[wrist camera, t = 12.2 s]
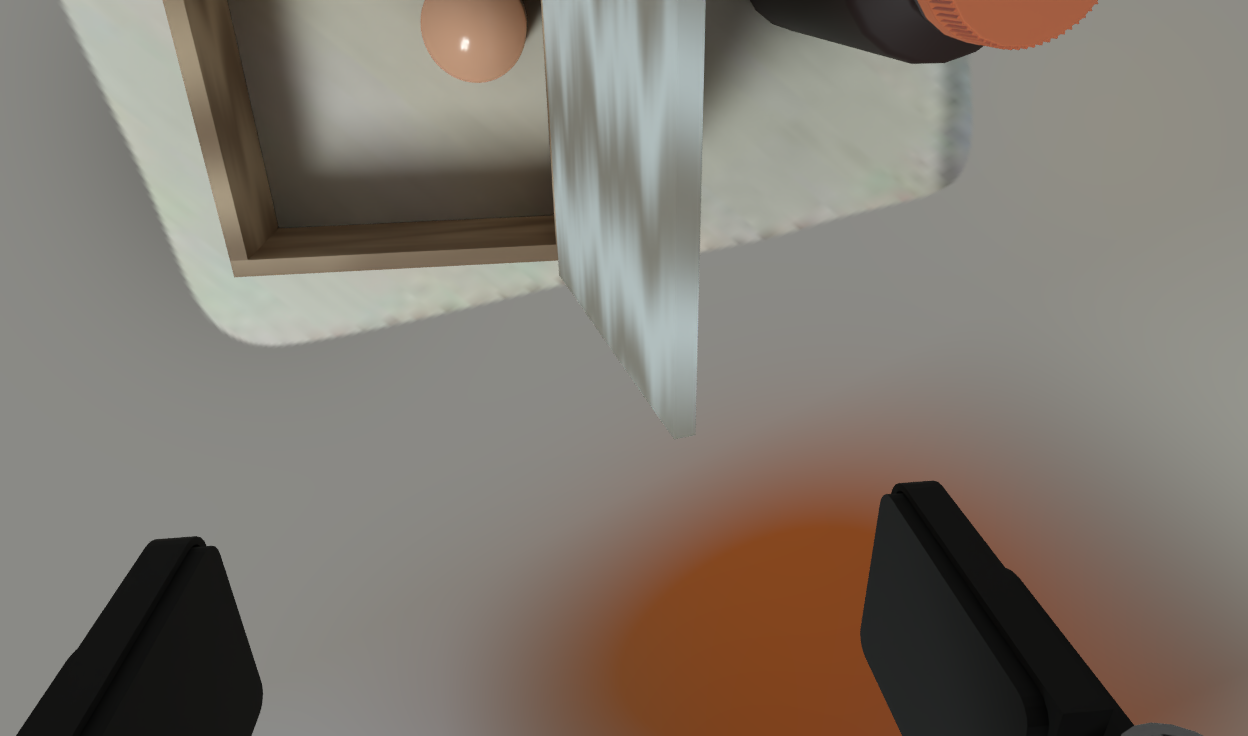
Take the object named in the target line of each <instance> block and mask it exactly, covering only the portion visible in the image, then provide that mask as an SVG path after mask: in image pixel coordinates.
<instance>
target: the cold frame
mask: <svg viewBox="0 0 1248 736" xmlns="http://www.w3.org/2000/svg"><path fill="white" fill-rule="evenodd" d="M163 3H164V7H165V11H166V15H167V19H168V23H169V26H170V30H171V34H172V38H173V42H174V46H175V50H176V54H177V57H178V61H179V65H180V69H181V73H182V77H183V81H184V84H185V88H186V92H187V96H188V100H189V104H190V108H191V111H192V115H193V119H194V123H195V127H196V131H197V135H198V138H199V142H200V146H201V150H202V154H203V158H204V162H205V165H206V169H207V173H208V177H209V181H210V185H211V189H212V193H213V196H214V200H215V204H216V208H217V212H218V216H219V220H220V223H221V227H222V231H223V235H224V239H225V243H226V247H227V250H228V254H229V258H230V262H231V266H232V270H233V274H234V277H247V276H266V275H285V274H305V273H324V272H343V271H362V270H382V269H401V268H420V267H440V266H459V265H478V264H498V263H517V262H536V261H555V260H558V263H559V276H560V277H561V279H562V280H563V281H564V283H565V284H566V286H567V287H568V288H569V290H570V291H571V293H572V294H573V296H574V297H575V298H576V300H577V301H578V303H579V304H580V306H581V307H582V309H583V310H584V311H585V313H586V314H587V316H588V317H589V319H590V320H591V321H592V323H593V324H594V326H595V327H596V329H597V330H598V331H599V333H600V334H601V336H602V337H603V339H604V340H605V341H606V343H607V344H608V346H609V347H610V349H611V350H612V351H613V353H614V354H615V355H616V357H617V359H618V360H619V361H620V363H621V364H622V366H623V367H624V368H625V370H626V371H627V373H628V374H629V376H630V377H631V379H632V380H633V381H634V383H635V384H636V386H637V387H638V389H639V390H640V391H641V393H642V394H643V395H644V397H645V398H646V400H647V402H648V403H649V404H650V406H651V407H652V409H653V410H654V412H655V413H656V414H657V416H658V417H659V419H660V420H661V422H662V423H663V424H664V426H665V427H666V429H667V430H668V431H669V433H670V434H671V436H672V437H673V439H678V438H683V437H688V436H693V435H695V428H696V386H697V341H698V302H699V299H698V298H699V259H700V217H701V175H702V133H703V91H704V49H705V7H706V0H541V11H542V27H543V44H544V60H545V76H546V92H547V108H548V124H549V140H550V156H551V172H552V188H553V205H554V215H548V216H527V217H506V218H485V219H464V220H443V221H422V222H401V223H380V224H359V225H338V226H317V227H296V228H278V223H277V219H276V214H275V210H274V205H273V201H272V197H271V192H270V188H269V183H268V179H267V174H266V170H265V166H264V161H263V157H262V152H261V148H260V143H259V139H258V134H257V130H256V126H255V121H254V117H253V112H252V108H251V103H250V99H249V95H248V90H247V86H246V81H245V77H244V72H243V68H242V64H241V59H240V55H239V50H238V46H237V41H236V37H235V32H234V28H233V24H232V19H231V15H230V10H229V6H228V1H227V0H163Z"/></svg>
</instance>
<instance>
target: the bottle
mask: <svg viewBox="0 0 1248 736" xmlns="http://www.w3.org/2000/svg"><path fill="white" fill-rule="evenodd" d="M750 1H751V3H752V4H753V6H754V8H755V9H756V11H758V12H759V13H760V14H761V15H762V16H764V17H765V18H766V19H767V20H768V21H770V22H771V23H772V24H774V25H777V26H780V27H783V28H786V29H789V30H792V31H795V32H799V33H802V34H806V35H809V36H813V37H817V38H820V39H824V40H828V41H831V42H835V43H838V44H842V45H846V46H849V47H853V48H857V49H860V50H864V51H867V52H871V53H875V54H878V55H882V56H885V57H889V58H893V59H896V60H900V61H904V62H907V63H911V64H920V63H946V62H949V61H951V60H954V59H957V58H960V57H962V56H965V55H968V54H971V53H973V52H976V51H977V50H979V49H980V48H981V47H983V46H989V47H994V48H999V49H1008V50H1012V49H1016V50H1019V49H1020V48H1023V49H1027V48H1028V47H1033V48H1034V47H1035V44H1037V45H1042V44H1043V41H1044V42H1050V39H1051V38H1055V39H1057V38H1058V35H1060V34H1065V30H1067V29H1072V25H1074V24H1079V20H1081V19H1082V18H1085V17H1086V16H1085V15H1086V14H1087V12H1088V11H1092V9H1091V8H1092V7H1093V5H1094V4H1098V2H1097V1H1098V0H750Z"/></svg>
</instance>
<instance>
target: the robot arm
mask: <svg viewBox="0 0 1248 736" xmlns="http://www.w3.org/2000/svg"><path fill="white" fill-rule="evenodd" d="M860 636H861V644H862V649H863V652H864V655H865V658H866V660H867V662H868V664H869V666H870V668H871V670H872V672H873V675H874V677H875V679H876V681H877V683H878V685H879V687H880V690H881V691H882V694H883V696H884V698H885V700H886V702H887V704H888V706H889V708H890V711H891V713H892V715H893V717H894V719H895V721H896V724H897V725H898V728H899V730H900V732H901V734H902V736H1203V735H1200V734H1199V733H1197V732H1195V731H1191V730H1188V729H1185V728H1181V727H1178V726H1175V725H1171V724H1160V723H1147V724H1141V725H1136V726H1134V725H1133V723H1132V722H1131V721H1130V719H1129V718H1128V717H1127V716H1126V714H1125V713H1124V712H1123V711H1122V709H1121V708H1120V707H1119V705H1118V704H1117V703H1116V701H1115V700H1114V699H1113V698H1112V696H1111V695H1110V694H1109V693H1108V691H1107V690H1106V689H1105V687H1104V686H1103V685H1102V683H1101V682H1100V681H1099V680H1098V678H1097V677H1096V676H1095V674H1094V673H1093V672H1092V671H1091V669H1090V668H1089V667H1088V666H1087V664H1086V663H1085V662H1084V660H1083V659H1082V658H1081V657H1080V655H1079V654H1078V653H1077V651H1076V650H1075V649H1074V648H1073V646H1072V645H1071V644H1070V642H1069V641H1068V640H1067V639H1066V638H1065V636H1064V635H1063V633H1062V632H1061V631H1060V630H1059V628H1058V627H1057V626H1056V624H1055V623H1054V622H1053V621H1052V619H1051V618H1050V617H1049V615H1048V614H1047V613H1046V612H1045V610H1044V609H1043V608H1042V607H1041V605H1040V604H1039V603H1038V601H1037V600H1036V599H1035V598H1034V596H1033V595H1032V594H1031V593H1030V591H1029V590H1028V589H1027V587H1026V586H1025V585H1024V583H1023V582H1022V581H1021V580H1020V578H1019V577H1017V575H1016V574H1015V573H1013V571H1011V570H1009V569H1007V568H1005V567H1004V566H1003V564H1002V563H1001V562H1000V560H999V559H998V558H997V557H996V555H995V554H994V553H993V551H992V550H991V549H990V547H989V546H988V545H987V543H986V542H985V541H984V540H983V538H982V537H981V536H980V534H979V533H978V532H977V531H976V529H975V528H974V527H973V525H972V524H971V523H970V521H969V520H968V519H967V517H966V516H965V515H964V514H963V513H962V511H961V510H960V508H959V507H958V506H957V504H956V503H955V502H954V501H953V499H952V498H951V497H950V495H949V494H948V493H947V491H946V490H945V489H944V488H943V486H942V485H941V484H940V483H939V482H936V481H923V482H910V483H898V484H896V485H895V486H894V487H893V489H892V493H891V494H886V495H884V496H883V497H882V499H881V502H880V507H879V515H878V520H877V526H876V533H875V539H874V546H873V552H872V559H871V565H870V572H869V578H868V584H867V591H866V597H865V604H864V610H863V617H862V623H861V631H860ZM262 699H263V689H262V683H261V680H260V676H259V673H258V670H257V667H256V664H255V661H254V658H253V655H252V652H251V649H250V645H249V643H248V639H247V636H246V633H245V630H244V627H243V624H242V621H241V617H240V615H239V611H238V609H237V605H236V602H235V599H234V596H233V593H232V590H231V587H230V583H229V580H228V577H227V574H226V571H225V568H224V565H223V562H222V559H221V555H220V553H219V551H218V549H217V548H216V547H215V546H206V544H205V542H204V540H203V539H202V538H201V537H197V536H194V537H181V538H168V539H156V540H153V541H151V542H150V543H149V544H148V545H147V546H146V547H145V549H144V550H143V552H142V553H141V555H140V556H139V558H138V559H137V561H136V562H135V564H134V565H133V567H132V568H131V570H130V571H129V573H128V574H127V576H126V577H125V579H124V580H123V582H122V583H121V585H120V586H119V587H118V589H117V590H116V592H115V593H114V595H113V596H112V598H111V599H110V601H109V603H108V604H107V606H106V607H105V608H104V610H103V611H102V613H101V614H100V616H99V617H98V619H97V620H96V622H95V623H94V625H93V627H92V628H91V629H90V631H89V632H88V634H87V635H86V637H85V638H84V640H83V641H82V643H81V644H80V646H79V648H78V649H77V650H76V651H75V652H74V653H73V654H72V655H71V656H70V657H69V658H68V660H67V661H66V662H65V664H64V666H63V667H62V668H61V670H60V671H59V673H58V674H57V676H56V677H55V679H54V680H53V682H52V683H51V685H50V686H49V688H48V689H47V691H46V692H45V694H44V695H43V697H42V698H41V699H40V701H39V702H38V704H37V706H36V707H35V708H34V710H33V711H32V713H31V715H30V716H29V717H28V719H27V720H26V722H25V723H24V725H23V726H22V728H21V729H20V731H19V732H18V734H17V735H16V736H251V735H252V733H253V730H254V727H255V725H256V722H257V719H258V716H259V713H260V710H261V706H262Z"/></svg>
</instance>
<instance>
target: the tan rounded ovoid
mask: <svg viewBox="0 0 1248 736" xmlns="http://www.w3.org/2000/svg"><path fill="white" fill-rule="evenodd" d="M421 32H422V37H423V40H424V43H425V46H426V48H427V50H428V52H429V54H430V55H431V57H432V58H433V60H434V61H435V62H436V63H437V64H438V65H439V66H440V67H441V68H442V69H443V70H444V71H445V72H447V73H448V74H450V75H451V76H453V77H455V78H457V79H460V80H463V81H467V82H474V83H481V82H488V81H492V80H494V79H497V78H499V77H501V76H502V75H504V74H505V73H507V72H508V71H509V70H510V69H511V68H512V67H513V66H514V65H515V63H516V62H517V61H518V59H519V57H520V55H521V53H522V50H523V48H524V43H525V39H526V33H527V12H526V8H525V5H524V2H523V0H425V1H424V4H423V7H422V12H421Z"/></svg>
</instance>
